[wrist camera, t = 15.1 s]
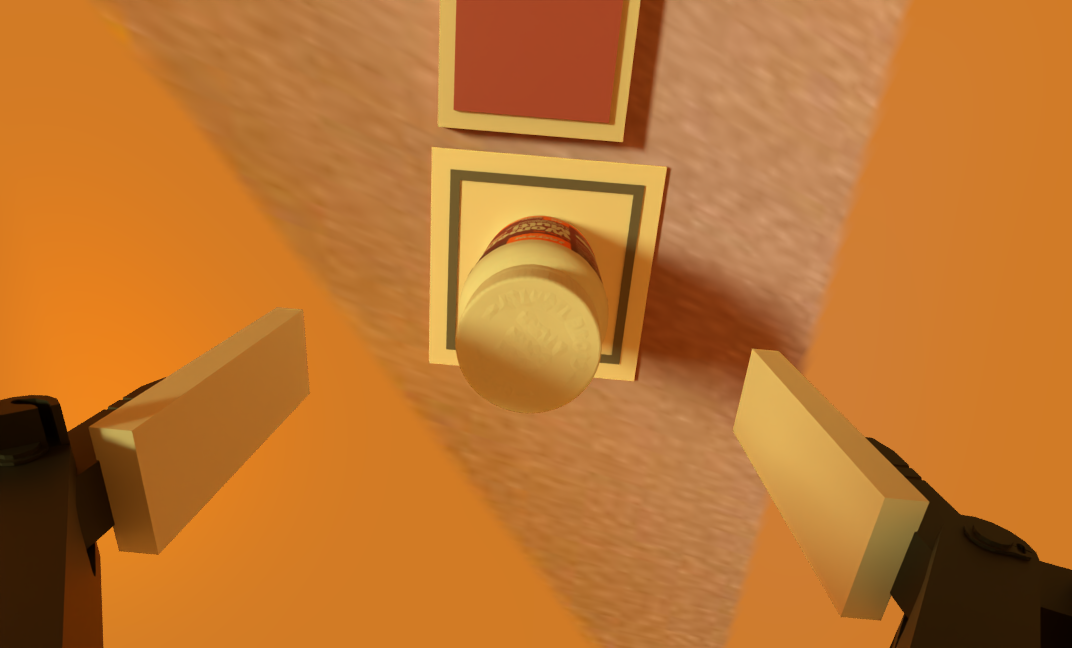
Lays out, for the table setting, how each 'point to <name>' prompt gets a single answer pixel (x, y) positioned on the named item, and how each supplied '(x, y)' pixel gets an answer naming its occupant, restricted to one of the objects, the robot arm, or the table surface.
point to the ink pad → (537, 66)
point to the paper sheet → (551, 190)
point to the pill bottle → (532, 317)
